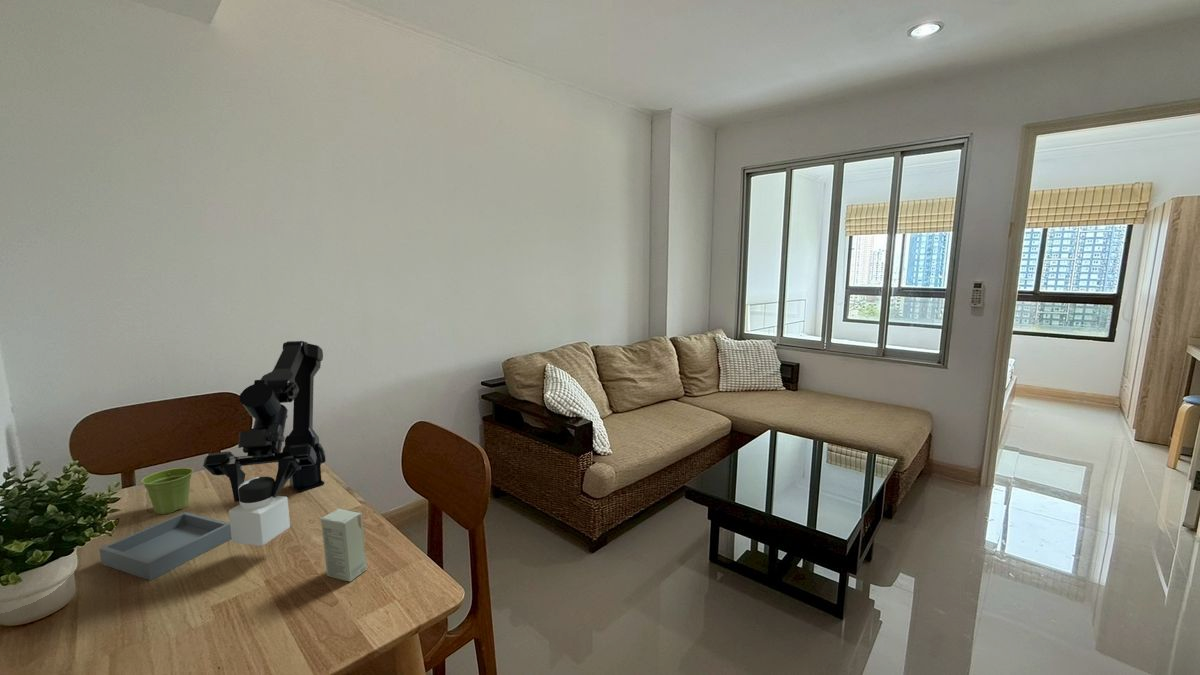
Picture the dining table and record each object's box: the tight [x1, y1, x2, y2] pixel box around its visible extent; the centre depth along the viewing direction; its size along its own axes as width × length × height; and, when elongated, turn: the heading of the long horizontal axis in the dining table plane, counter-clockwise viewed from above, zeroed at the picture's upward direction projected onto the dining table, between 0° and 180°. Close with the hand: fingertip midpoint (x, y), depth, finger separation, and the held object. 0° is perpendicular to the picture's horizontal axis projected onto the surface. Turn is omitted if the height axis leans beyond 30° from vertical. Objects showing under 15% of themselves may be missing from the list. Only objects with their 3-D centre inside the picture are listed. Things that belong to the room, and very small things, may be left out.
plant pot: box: [140, 467, 194, 515], centre depth 115 cm, size 9×9×9 cm
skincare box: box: [320, 507, 368, 582], centre depth 91 cm, size 6×4×12 cm
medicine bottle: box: [228, 476, 291, 547], centre depth 95 cm, size 7×7×12 cm
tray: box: [99, 511, 232, 581], centre depth 98 cm, size 15×15×4 cm
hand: (255, 499), depth 94 cm, fingers closed on medicine bottle, 6 cm apart
